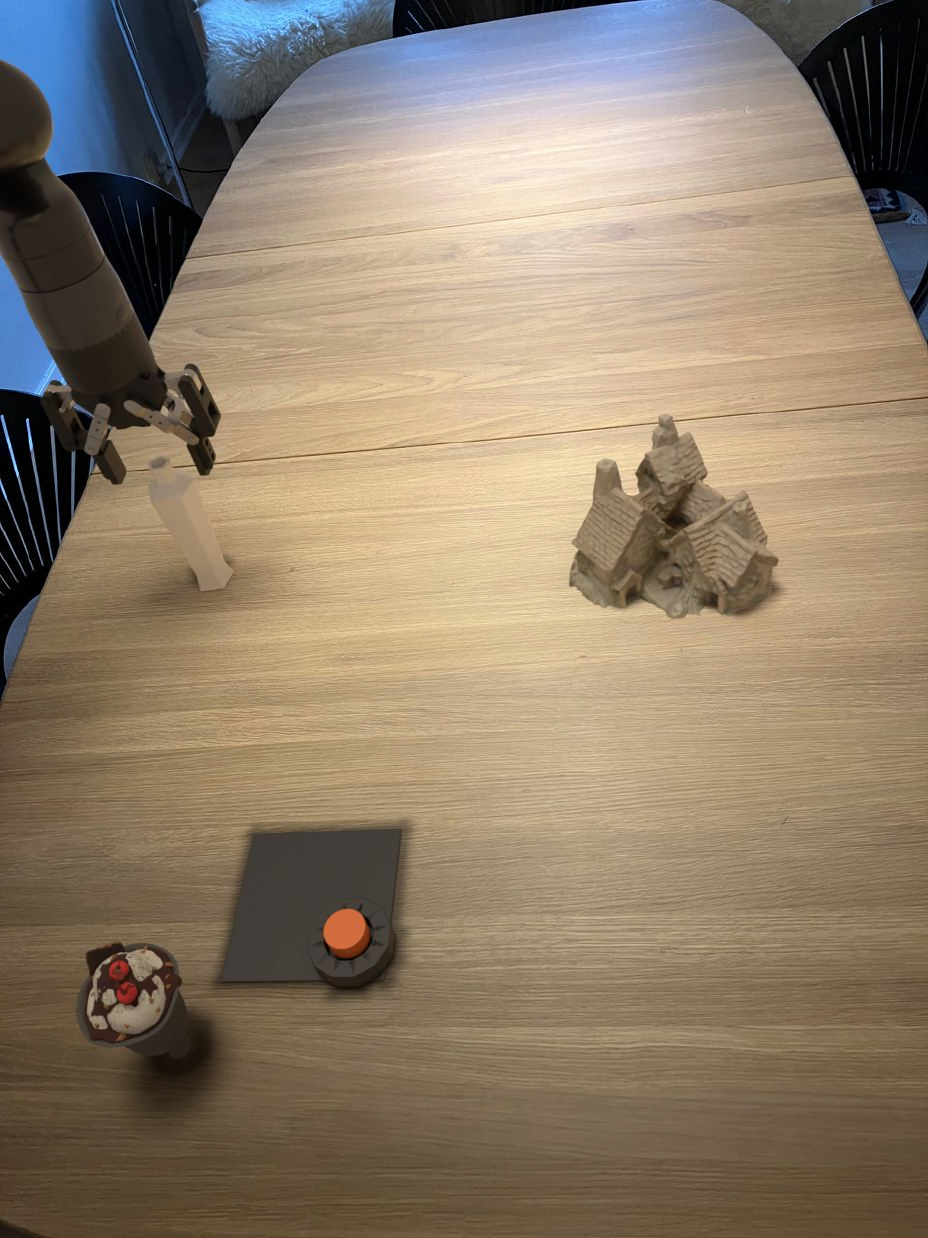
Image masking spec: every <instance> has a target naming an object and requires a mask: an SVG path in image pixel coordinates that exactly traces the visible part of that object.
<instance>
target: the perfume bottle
mask: <svg viewBox="0 0 928 1238" xmlns="http://www.w3.org/2000/svg"><path fill="white" fill-rule="evenodd" d="M171 461H172V459H171V458H170V457H167V456H164V455H158V456H156V457H154V458H153V459H151V460H149V461H148V462H147V468H148V471H149V472H151V474H152V475H153V477H154V479H153V481H151V482H149V483H148V484H147V491H148V494H149V500H150V503H151V504H152V506H153V507H154V510H156V512H157V514H158V515H159V517H160V518H161V520H162V523H164V526H165V527H166V529H167V530H168V532H169V533H170V535H171V537H172V538H173V540H174V542H175V543H176V545H177V546H178V548H179V550H180V551H181V553H182V554H183V556H184V558H185V559H186V561H187V562H188V564H189V566H190V568H191V570H192V571H193V572H194V574H195V576H196V579H197V584H198V588H199V592H208V591H215V590H221V589H224V588H226V586H227V584H228V582H229V581H230V579H231V577H232V576H233V574H234V572H235V571H234V570H233V568H232V567H231V566H230V565H229V564H228V563H227V562H226V561H225V558H224V555H223V553H222V550H221V547H220V545H219V542H218V539H217V536H216V533H215V530H214V528H213V525H212V522H211V519H210V516H209V514H208V511H207V508H206V505H205V502H204V500H203V496H202V493H201V491H200V489H199V486H198V484H197V480H196V477H195V476H193V475H191V474H189V473H188V474H187V473H185V472H182V471H180V470H177V469H174V467H173V465H172V463H171Z"/></svg>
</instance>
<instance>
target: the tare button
mask: <svg viewBox="0 0 928 1238" xmlns="http://www.w3.org/2000/svg"><path fill="white" fill-rule="evenodd" d="M323 934H324V939H325V941H326V943H327V944H328V946H329V948H330V949H331V951H332V952H333V953H334V954H335V955H336V956H338V957H340V958H344V959H349V958H353V957H356V956H358V955H360V954H361V953H362V952H363V951H364V950H365V949H366V948H367V946H368V944H369V941H370V930H369V927H368V925H367V923H366V921H365V919H364V917H363V916H362V915H361V914H360V913H359V912H358V911H356V910H353V909H342V910H339V911H337V912H335V913H334V914H332V915H331V916H330V917H329V919H328V920H327V921H326V923H325V926H324V931H323Z"/></svg>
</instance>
